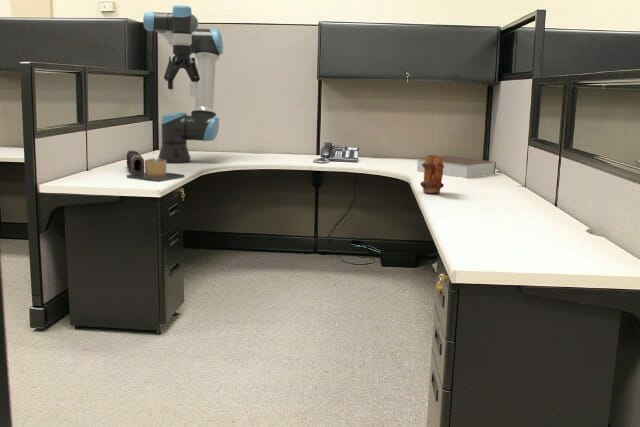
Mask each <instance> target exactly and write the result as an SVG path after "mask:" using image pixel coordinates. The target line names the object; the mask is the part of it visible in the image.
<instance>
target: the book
mask: <svg viewBox="0 0 640 427" xmlns="http://www.w3.org/2000/svg"><path fill="white" fill-rule="evenodd" d="M441 156H442V158H443V165H444V168H443V176H446V177H454V178H459V177H462V178H461V179H466V178H467V179H471V178H470V177H474V178H478V177H477V176H481V177H484V176H483V175H488V176H491V175H490V174H496V166H497V163H496V161H491V160H484V159H483V160H481V159H475V158H466V157H459V156H452V155H441ZM424 162H425V157H423V158H422V157H421V158H417V172H421V173H424V168H423V166H422V164H423V163H424Z"/></svg>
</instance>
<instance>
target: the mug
mask: <svg viewBox="0 0 640 427" xmlns="http://www.w3.org/2000/svg"><path fill="white" fill-rule="evenodd" d="M442 156H443V155H435V154H431V155H428V154H427V155H425V156H424V158H425V162H424V163H423V164H422V166H423V168H424V172H423V181H421V182H420V186H421V187H422V192H423V193H424V194H440V193H441V189H442V188H443V187H444V186H445V185H444V183H443V182H442V181H443V177H444V175H443V168H444V165H443V158H442Z"/></svg>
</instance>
